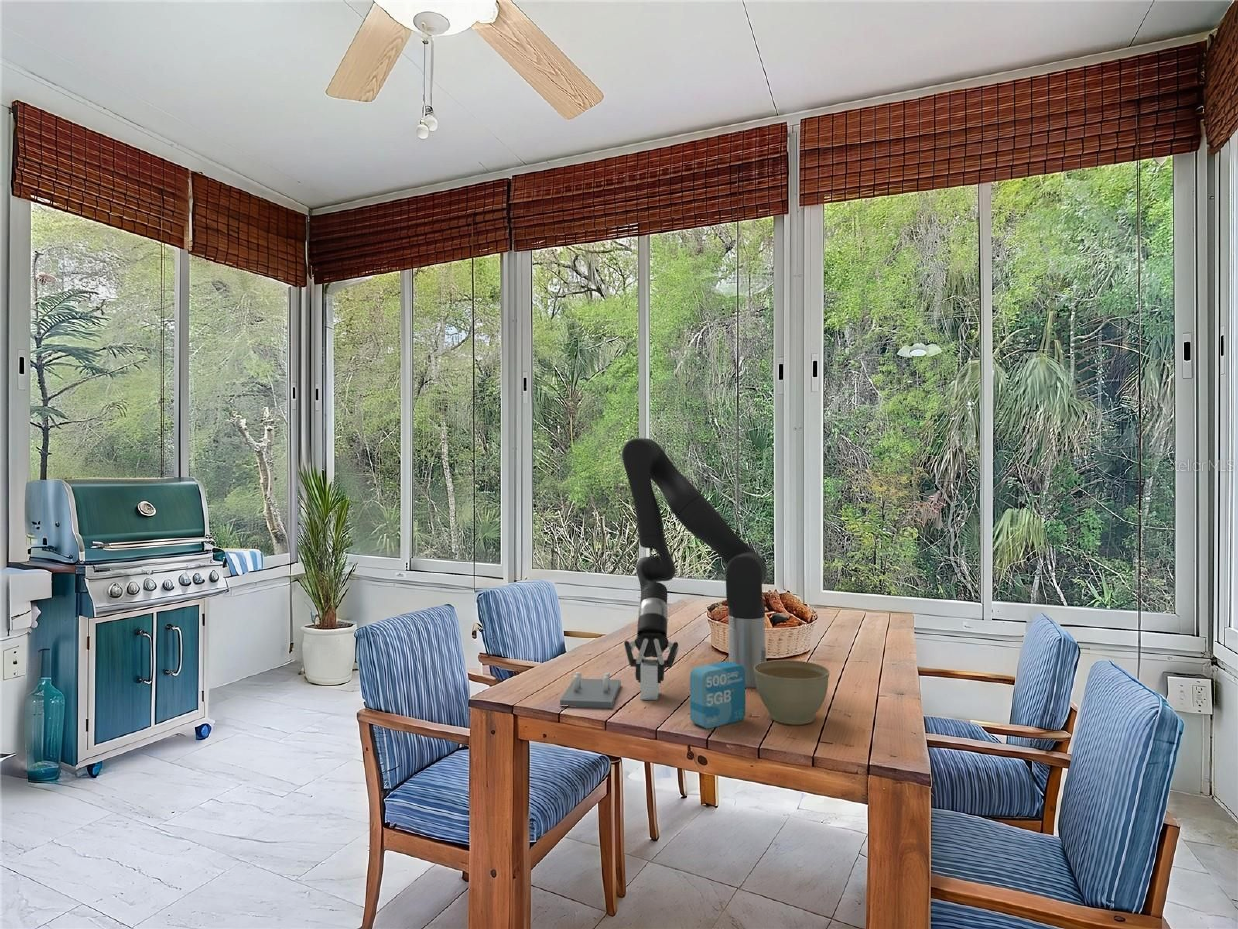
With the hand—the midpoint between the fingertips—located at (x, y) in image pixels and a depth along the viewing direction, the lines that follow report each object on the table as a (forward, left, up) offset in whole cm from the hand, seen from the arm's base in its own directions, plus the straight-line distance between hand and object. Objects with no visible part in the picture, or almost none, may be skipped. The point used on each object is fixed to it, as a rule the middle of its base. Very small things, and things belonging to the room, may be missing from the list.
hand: (649, 681), depth 168 cm
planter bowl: (-32, +10, -4) cm, 34 cm away
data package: (-16, +14, -5) cm, 22 cm away
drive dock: (+14, -1, -4) cm, 15 cm away
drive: (0, -2, -4) cm, 5 cm away
